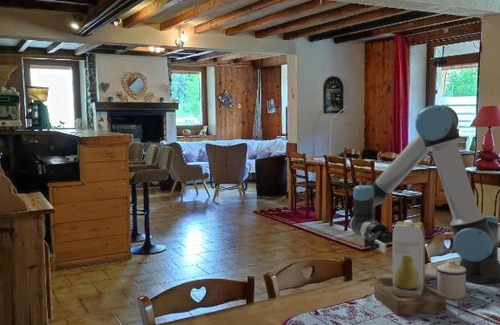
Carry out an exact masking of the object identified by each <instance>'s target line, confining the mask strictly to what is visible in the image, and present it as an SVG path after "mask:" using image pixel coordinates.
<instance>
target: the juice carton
mask: <svg viewBox="0 0 500 325" xmlns="http://www.w3.org/2000/svg"><path fill="white" fill-rule="evenodd" d="M392 232H393V242H392V287H393V288H394V293H395V295H396V296H404V297H411V298H413V297H420V296H421V294H422V291H423V288H424V284H426V283H425V282H426V281H425V280H426V271H425V270H426V268H425V267H426V233H425V228H424V223H423V222H413V220H410V219H405V220H404V221H401V220H400V221H399V220H398V221H397V222H396V224H394V226H393V231H392Z"/></svg>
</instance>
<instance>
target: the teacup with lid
mask: <svg viewBox="0 0 500 325" xmlns="http://www.w3.org/2000/svg"><path fill="white" fill-rule="evenodd" d="M466 272H467V271H466V269H465V268H464V267H462V266H460V265H459V264H458V263H456V261H455V260H454V259H449V260H448V261H447V262H446V263H444V264H443V263H442V264H439V265H438V266H437V268H436V271H435V274H436V276H435V277H436V279H437V291H438V292H440V293H442V294H443V295H445V296H446V299H447V300H463V299H464V298H466V294H467V292H466V290H467V289H466V287H467V281H466Z"/></svg>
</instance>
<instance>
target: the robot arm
mask: <svg viewBox="0 0 500 325" xmlns="http://www.w3.org/2000/svg"><path fill="white" fill-rule="evenodd" d="M415 118H416V119H415V122H414V123H415V129H416V132H417V134H416V135H415V137H414V138H413V139H412V140H411V141H410V142H409V143H408V144H407V145H406V147H405V148H404V149H403V150H402V151H401V152H400V153H399V154H398V155H397V157H395V159H393V161H392V162H391V163H390V164H389V165H388V167H386V168H385V169H384V171H383V172H382V173H381V174H380V175H379V177H377V179H376V180H375V181H374V182H373V183H372V184H371V185H366V184H365V185H364V184H362V185H359V184H358V185H356V186H354V187H353V194H352V197H353V198H352V199H353V217H351V219H350V221H349V227H350V230H351V231H352V232H353V233H354V234H355V235H357V236H359V237H361V238H363V242H364V246H363V247H364V248H369V247H370V248H369V249H370V250H372V251H373V250H375V249H376V250H378V251H379V252H381V253H383V254H386V253H387V244H386V243H393V231H391V230H389V228H388V227H387V226H386V225H384V224H382V223H380V222H378V221H376V220H375V207H377V206H379V205H382V204H383V203H384V202H385V201H386V200H387V197H389V195H390V194H392V192H393V191H394V190H395V189H396V188H397V187H398V185H400V184H401V183H402V181H403V180H404V179H405V178H406V177H407V176H408V175H409V174H410V173H411V172H412V171H413V170H414V168H416V167H417V166H418V164H419V163H421V162H422V160H424V158H425V157H427V155H428V154H430V152H431V154H432V157H433V160H434V163H435V166H436V170H437V172H438V175H439V179H440V181H441V185H442V189H443V190H444V191H443V192H444V194H445V195H444V196H445V198H446V200H447V203H448V207H449V210H450V214H451V216H452V220H451V221H450V223H449V225H450V228H451V232H452V235H453V242H452V243H453V248H454V251H455V253H456V254H458V256H459V257H460V260H459V264H458V265H460V266H462V267H464V268H465V269H466V271H467V272H466V282H469V283H475V284H483V285H485V284H486V285H491V284H492V285H493V284H498V283H500V262H499V257H498V253H499V226H500V224H499V219H498V217H497V216H494V215H486V214H483V213H482V212H480V210H479V207H478V205H477V204H478V203H477V201H476V197H475V194H474V191H473V189H472V185H471V183H470V180H469V177H468V173H467V171H466V167H465V165H464V164H465V163H464V162H463V161H464V160H463V158H462V154H461V152H460V149H459V146H458V143H459V141H460V140H461V136H460V133H459V130H458V127H459V117H458V114H457V112H456V111H455V110H454V109H453V108H451V107H450V106H446V105H439V104H433V105H428V106H427V107H425V108H423V109H422V110H420V112H419V113H418V114H417V116H416V117H415Z"/></svg>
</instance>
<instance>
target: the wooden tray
mask: <svg viewBox="0 0 500 325" xmlns="http://www.w3.org/2000/svg"><path fill="white" fill-rule="evenodd" d="M373 287H374V292H373V293H374V294H373V295H374V298H375V299H376V300H377V301H379V302H380V303H381V304H383V306H384V307H386V308H387V309H388V310H389V311H391V312H392V313H393V314H394V315H396V316H398V317H400V316H405V315H417V314H425V313H437V312H444V311H447V298H446V296H445V295H443V294H442V293H440V292H438V289H437V290H436V288H434V287H432V286H430V285H428V284H427V283H425V284H424V288H423V291H422V294H421V296H420V297H413V298H411V297H404V296H396V295H395V293H394V288H393V286H386V287H385V286H383V285H382V284H380V283H374V286H373Z"/></svg>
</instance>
